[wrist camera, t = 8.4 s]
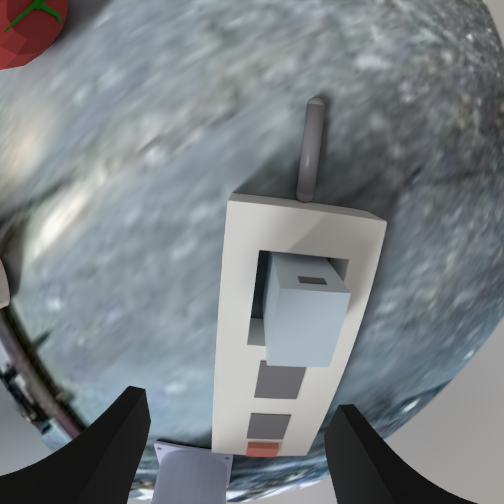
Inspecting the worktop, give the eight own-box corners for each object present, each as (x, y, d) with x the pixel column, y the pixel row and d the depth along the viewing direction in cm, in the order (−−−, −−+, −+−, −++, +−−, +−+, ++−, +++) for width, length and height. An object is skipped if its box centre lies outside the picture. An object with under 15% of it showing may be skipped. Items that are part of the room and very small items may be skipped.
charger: (308, 307, 18) (329, 367, 13) (262, 304, 18) (267, 365, 13) (319, 248, 17) (351, 292, 11) (270, 243, 17) (280, 286, 11)
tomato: (-62, 35, 4) (-15, -24, 2) (12, -23, 6) (79, -69, 5) (-14, 102, 11) (41, 75, 10) (44, 39, 14) (110, 11, 13)
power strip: (302, 430, 23) (307, 460, 19) (214, 426, 22) (210, 457, 19) (378, 114, 14) (408, 106, 11) (243, 89, 14) (241, 70, 11)
